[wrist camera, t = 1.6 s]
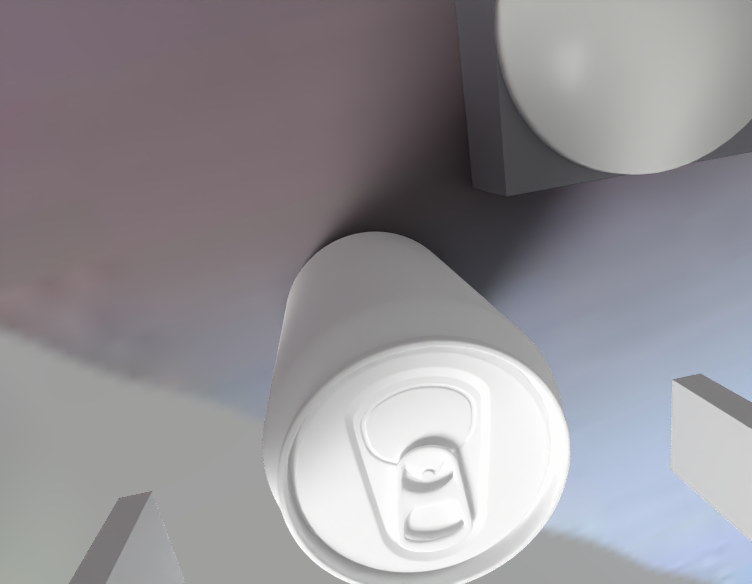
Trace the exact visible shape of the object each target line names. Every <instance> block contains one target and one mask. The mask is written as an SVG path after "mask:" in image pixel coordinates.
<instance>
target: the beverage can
mask: <svg viewBox="0 0 752 584" xmlns="http://www.w3.org/2000/svg"><path fill="white" fill-rule="evenodd" d="M262 449H263V461H264V467H265V472H266V476H267V479H268V483H269V486H270V488H271V491H272V493H273V496H274V498H275V500H276V502H277V504H278V505H279V507H280V509H281V511H282V514H283V517H284V520H285V522H286V524H287V527H288V529H289V530H290V532H291V534H292V536H293V537H294V539H295V541H296V542H297V543H298V545H299V546H300V547H301V549H302V550H303V551H304V552H305V553H306V554H307V555H308V556H309V557H310V558H311V559H312V560H313V561H314V562H315V563H316V564H318V565H319V566H320V567H321V568H323V569H324V570H326V571H327V572H329V573H330V574H332V575H334V576H336V577H337V578H339V579H341V580H344V581H346V582H348V583H351V584H464V583H467V582H470V581H472V580H474V579H477V578H479V577H481V576H483V575H485V574H487V573H489V572H491V571H493V570H494V569H496V568H498V567H499V566H501V565H502V564H504V563H505V562H507V561H508V560H510V559H511V558H512V557H514V556H515V555H516V554H517V553H518V552H520V551H521V550H522V549H523V548H524V547H526V545H528V544H529V543H530V542H531V541H532V540H533V538H534V537H535V536H536V535H537V534H538V533H539V532H540V530H541V529H542V528H543V527H544V525H545V524H546V522H547V521H548V520H549V518H550V516H551V515H552V513H553V511H554V510H555V508H556V506H557V504H558V502H559V500H560V498H561V495H562V493H563V490H564V487H565V484H566V480H567V476H568V471H569V465H570V437H569V431H568V426H567V422H566V419H565V416H564V413H563V410H562V403H561V398H560V393H559V390H558V386H557V383H556V381H555V378H554V376H553V373H552V371H551V369H550V367H549V365H548V363H547V362H546V360H545V358H544V357H543V355H542V354H541V352H540V351H539V350H538V348H537V347H536V346H535V344H534V343H533V342H532V341H531V340H530V339H529V338H528V337H527V336H526V335H525V334H524V333H523V332H522V331H521V330H520V329H519V328H518V327H516V326H515V325H514V324H513V323H512V322H511V321H510V320H508V319H507V318H506V317H505V316H504V315H503V314H502V313H501V312H499V311H498V310H497V309H496V308H495V307H494V306H493V305H491V304H490V303H489V302H488V301H487V300H486V299H485V298H483V297H482V296H481V295H480V294H479V293H478V292H477V291H476V290H474V289H473V288H472V287H471V286H470V285H469V284H468V283H466V282H465V281H464V280H463V279H462V278H461V277H460V276H459V275H457V274H456V273H455V272H454V271H453V270H452V269H451V268H449V267H448V266H447V265H446V264H445V263H444V262H443V261H441V260H440V259H439V258H438V257H437V256H436V255H435V254H433V253H432V252H431V251H430V250H429V249H427V248H426V247H424V246H423V245H421V244H420V243H418V242H416V241H414V240H412V239H410V238H407V237H405V236H402V235H398V234H394V233H388V232H363V233H357V234H353V235H349V236H346V237H343V238H341V239H338V240H336V241H334V242H332V243H330V244H329V245H327V246H325V247H324V248H322V249H321V250H320V251H318V252H317V253H316V254H315V255H314V256H313V257H312V258H311V259H310V260H309V261H308V262H307V263H306V264H305V265H304V267H303V268H302V269H301V271H300V272H299V274H298V275H297V277H296V279H295V281H294V283H293V285H292V287H291V290H290V293H289V296H288V300H287V305H286V310H285V316H284V321H283V326H282V331H281V337H280V342H279V347H278V352H277V358H276V363H275V368H274V373H273V379H272V384H271V389H270V394H269V400H268V405H267V410H266V416H265V421H264V428H263V438H262Z"/></svg>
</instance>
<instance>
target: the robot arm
mask: <svg viewBox="0 0 752 584" xmlns="http://www.w3.org/2000/svg"><path fill="white" fill-rule="evenodd" d="M670 470H671V471H672V472H673V473H674V474H676V475H677V476H678V477H679V478H680V479H681V480H682V481H684V482H685V483H686V484H687V485H688V486H689V487H690V488H691V489H693V490H694V491H695V492H696V493H697V494H698V495H699V496H700V497H702V498H703V499H704V500H705V501H706V502H707V503H708V504H710V505H711V506H712V507H713V508H714V509H715V510H716V511H717V512H719V513H720V514H721V515H722V516H723V517H724V518H725V519H727V520H728V521H729V522H730V523H731V524H732V525H733V526H734V527H736V528H737V529H738V530H739V531H740V532H741V533H742V534H743V535H745V536H746V537H747V538H748V539H749V540H750V541H751V542H752V402H750V401H748V400H746V399H745V398H743V397H741V396H739V395H737V394H736V393H734V392H732V391H730V390H729V389H727V388H725V387H723V386H721V385H720V384H718V383H716V382H714V381H713V380H711V379H709V378H707V377H705V376H704V375H702V374H696V375H692V376H687V377H682V378H678V379H673V380H672V419H671V464H670ZM69 584H184V578H183V575H182V573H181V570H180V567H179V564H178V561H177V559H176V556H175V553H174V550H173V548H172V545H171V542H170V539H169V537H168V534H167V531H166V528H165V526H164V523H163V520H162V517H161V515H160V512H159V509H158V506H157V504H156V501H155V498H154V495H153V493H152V491H150V492H145V493H141V494H136V495H131V496H127V497H122V498H119V499H118V501H117V503H116V504H115V506H114V508H113V509H112V511H111V513H110V514H109V516H108V518H107V520H106V521H105V523H104V525H103V526H102V528H101V530H100V531H99V533H98V535H97V537H96V538H95V540H94V542H93V543H92V545H91V547H90V549H89V550H88V552H87V554H86V555H85V557H84V559H83V561H82V562H81V564H80V566H79V567H78V569H77V571H76V572H75V574H74V576H73V578H72V579H71V581H70V583H69Z"/></svg>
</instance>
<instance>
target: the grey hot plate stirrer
mask: <svg viewBox="0 0 752 584" xmlns="http://www.w3.org/2000/svg"><path fill="white" fill-rule="evenodd" d="M455 9H456V19H457V30H458V40H459V51H460V61H461V71H462V82H463V92H464V102H465V113H466V123H467V134H468V144H469V154H470V165H471V175H472V186H473V188H474V189H478V190H482V191H486V192H490V193H494V194H498V195H502V196H506V197H507V196H512V195H518V194H523V193H529V192H534V191H540V190H545V189H551V188H556V187H562V186H567V185H573V184H578V183H584V182H589V181H595V180H600V179H606V178H611V177H617V176H622V175H628V174H649V173H658V172H663V171H667V170H671V169H675V168H678V167H681V166H683V165H686V164H688V163H694V162H699V161H705V160H710V159H716V158H721V157H727V156H732V155H738V154H743V153H749V152H752V0H455Z"/></svg>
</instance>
